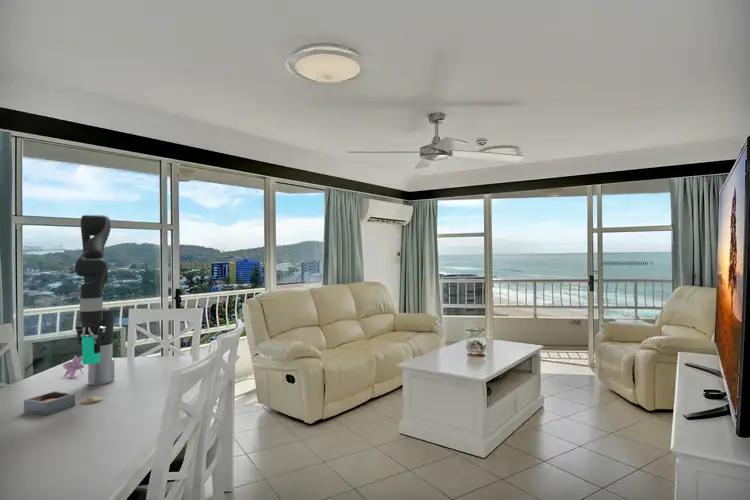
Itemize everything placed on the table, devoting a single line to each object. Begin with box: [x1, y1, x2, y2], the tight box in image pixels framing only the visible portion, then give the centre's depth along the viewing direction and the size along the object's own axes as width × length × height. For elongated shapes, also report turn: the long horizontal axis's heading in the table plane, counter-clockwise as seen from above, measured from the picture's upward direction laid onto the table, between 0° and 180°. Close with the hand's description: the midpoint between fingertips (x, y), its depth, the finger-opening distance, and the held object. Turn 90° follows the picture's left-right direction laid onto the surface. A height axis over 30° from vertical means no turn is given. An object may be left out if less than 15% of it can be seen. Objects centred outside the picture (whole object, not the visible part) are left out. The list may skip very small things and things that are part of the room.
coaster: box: [80, 396, 103, 405], centre depth 170 cm, size 7×7×1 cm
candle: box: [81, 335, 100, 365], centre depth 170 cm, size 6×6×12 cm
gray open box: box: [23, 390, 76, 417], centre depth 162 cm, size 11×11×4 cm
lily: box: [62, 355, 85, 380], centre depth 207 cm, size 12×12×10 cm
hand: (91, 352), depth 170 cm, fingers closed on candle, 5 cm apart
